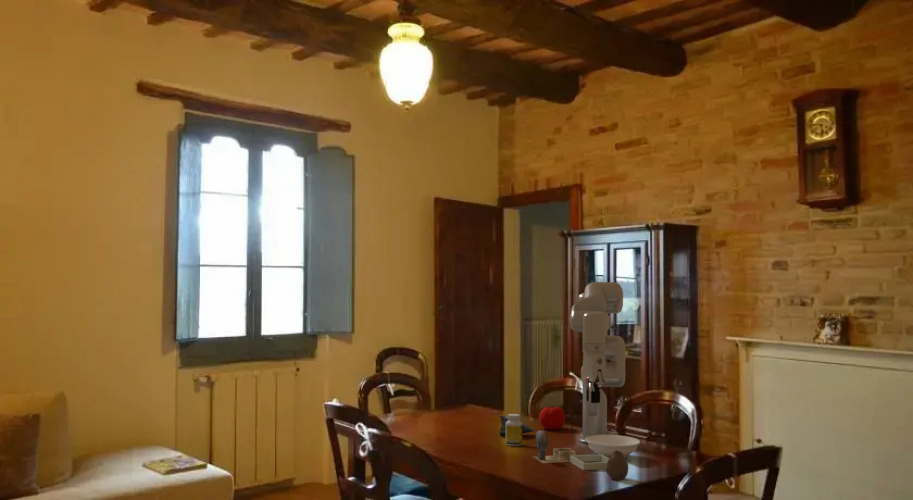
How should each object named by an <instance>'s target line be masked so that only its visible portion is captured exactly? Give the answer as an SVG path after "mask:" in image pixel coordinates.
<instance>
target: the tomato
mask: <svg viewBox="0 0 913 500" xmlns="http://www.w3.org/2000/svg"><path fill="white" fill-rule="evenodd" d="M559 406H560V405H559V404H558V405H556V406H555V405H551V406H549V405H548V406H545V407H544V408H543V409H541V410H540V412H539V416H538V419H539V423H540V425H541V426H542V428H544V429H546V430H559V429H561V428H563V427H564V425H565V422H566V416H565V415H566V414H565V412H564V409H563V408H562V407H559Z"/></svg>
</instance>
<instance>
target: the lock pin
mask: <svg viewBox="0 0 913 500" xmlns="http://www.w3.org/2000/svg"><path fill="white" fill-rule="evenodd" d="M587 380H588V381H589V377H587ZM595 382H598V380H596V381H595ZM595 385H596V384H595ZM591 391H592V382H590V381H589V416H597V406H598V403H591Z"/></svg>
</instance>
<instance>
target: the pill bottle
mask: <svg viewBox="0 0 913 500" xmlns="http://www.w3.org/2000/svg"><path fill="white" fill-rule="evenodd" d="M507 418H508V419H509V420H508V421H507V422H506V435H505V440H504V441H505V443H504V444H505V445H506V446H509V447H519V446H522V444H523V434H522V423H523V422H522V421H521V420H520V418H521V415H520V414H518V413H508V414H507Z"/></svg>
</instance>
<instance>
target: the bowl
mask: <svg viewBox="0 0 913 500" xmlns="http://www.w3.org/2000/svg"><path fill="white" fill-rule="evenodd" d="M585 440H586V441H587V443H588V445H587V446H588V447H589V449H591V450H592V451H593V452H594V453H595V454H596V455H598V454H602V455H604V456H606V457H608V458H610V457H611V456H612V454H613V452H614V451H621V452H622V455H623V456H624V457H625V458H626V457H628V456H629V455H632V453H634V452H635V451H637V449H638V446H639V445H640V444H641V441H640V439H638V438H634V437H631V436H626V435H619V434H618V435H593V436H588V437H586V438H585Z"/></svg>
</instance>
